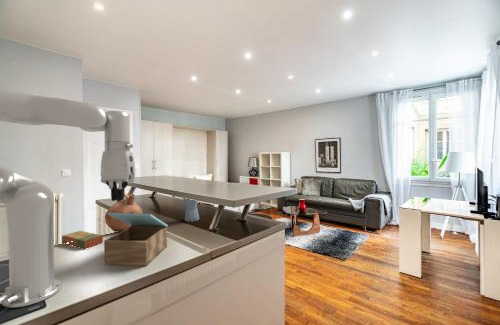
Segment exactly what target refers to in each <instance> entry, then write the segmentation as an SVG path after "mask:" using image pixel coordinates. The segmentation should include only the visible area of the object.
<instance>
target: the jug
mask: <svg viewBox="0 0 500 325" xmlns="http://www.w3.org/2000/svg"><path fill="white" fill-rule="evenodd" d="M124 198H126V200H121V201H117V200H116V202H115V203H114V204H112V205H111V206H110V207H109V208H108V209H107V211H106V212H105V214H104V220H105V223H106V225H107V227H109V229H110V230H112V231H113V232H115V233H120V232H121V231H123V230H125V229H127V228H129V227H131V226H130V225H128V224H126V223H124V222H122V221H120V220H117V219H115V218H113V217H111V216H109V215H108V213H130V212H135V213H136V214H143V210H142V208H141V207H140V206H139V205H138V204H137V203H136V202H134V201H135V199H136V194H134V193H130V194H127V193H125V197H124Z"/></svg>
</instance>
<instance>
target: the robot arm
mask: <svg viewBox="0 0 500 325" xmlns="http://www.w3.org/2000/svg"><path fill="white" fill-rule="evenodd" d="M0 122H5V123H11V124H20V125H27V126H41V125H55V126H67V127H74V128H79V129H81V130H82V131H85V132H89V133H93V132H95V133H96V132H104V151H103V152H102V155H101V161H100V178H101V179H100V183H102V184H105V185H106V186H108V189H109V190H110V197H111V201H112V202H115V201H116V202H117V201H121V200H123V201H125V200H124V199H125V198H126V197H125V194H126V193H125V192H126V190H125V189H126V188H127V186H129V185H130V184H133V183H135V182H136V181H135V178H136V166H135V157H134V154H133V151H131V149H133V146H134V145H133V144H132V143H131V142H130V139H131V138H130V116H129V114H128V112H126V111H121V110H107V111H104V109H103V108H101V107H100V106H98V105H95V104H92V103H86V102H84V101H83V102H82V101H78V100H77V101H76V100H72V99H66V98H59V97H50V96H44V95H33V94H27V93H22V92H19V91H18V92H17V91H12V90H6V89H0ZM54 200H55V199H54V193H53V191H52V189H51V188H50V187H48V186H47V185H46V184H43V183H42V182H40V181H37V180H35V179H33V178H30V177H29V176H26V175H24V174H22V173H19V172H18V171H15V170H13V169H10V168H8V167H5V166H3V165H0V204H3V205H5V206H6V208H5V212H6V213H5V216H6V221H7V222H6V224H7V237H8V238H7V239H8V242H7V244H8V269H9V270H8V273H9V276H8V277H9V286H7V287H5V288H4V289H5V290H4V291H5V292H3V293H2V295H1V296H0V305H2V306H3V307H5V308H14V309H15V308H20V307H21V308H22V307H27V306H29V305H33V304H36V303H40V302H43V301H44V300H47V299H48V298H50V297H52V296H54V295H55V294H56V293H58V292H59V291H60V290H61V288H62V281H61V280H59V279H56V278H55V237H54V236H55V234H54V233H55V232H54V209H55V208H54V202H55V201H54Z"/></svg>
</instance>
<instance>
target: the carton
mask: <svg viewBox="0 0 500 325" xmlns="http://www.w3.org/2000/svg"><path fill="white" fill-rule="evenodd" d="M103 239H104V236H103V235H102V234H99V233H92V232H87V231H83V230H78V231H74V232H70V233H65V234H64V235H61V244H62V245H64V244H63V243H65V244H66V243H67V242H69V244H66V246H68V245H73V246H76V247H80V248H83V249H82V250H87V249H86V248H88V249H90V248H93V247H95V246H99V245H101V244H103V243H104V240H103ZM71 241H73V242H71ZM98 244H99V245H98ZM76 247H75V248H76ZM89 247H90V248H89ZM80 248H79V249H80Z"/></svg>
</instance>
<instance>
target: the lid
mask: <svg viewBox="0 0 500 325" xmlns="http://www.w3.org/2000/svg"><path fill="white" fill-rule="evenodd" d="M108 215H109V216H111V217H113V218H115V219H117V220H120V221H122V222H124V223H126V224H128V225H130V226H152V227H167V228H168V225H169V224H167V223H166V222H164V221H162V220H161V219H159V218H158V217H156V216H155V215H153V214H152V213H142V214H136V213H135V212H130V213H108Z"/></svg>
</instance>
